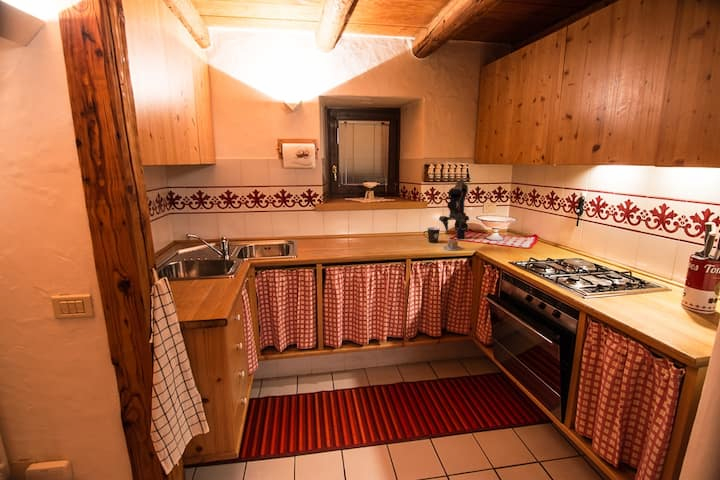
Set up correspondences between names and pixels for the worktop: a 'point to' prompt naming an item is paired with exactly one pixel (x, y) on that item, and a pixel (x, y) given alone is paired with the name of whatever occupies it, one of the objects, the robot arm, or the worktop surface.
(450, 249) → the coaster
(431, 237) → the coffee mug
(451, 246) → the block
